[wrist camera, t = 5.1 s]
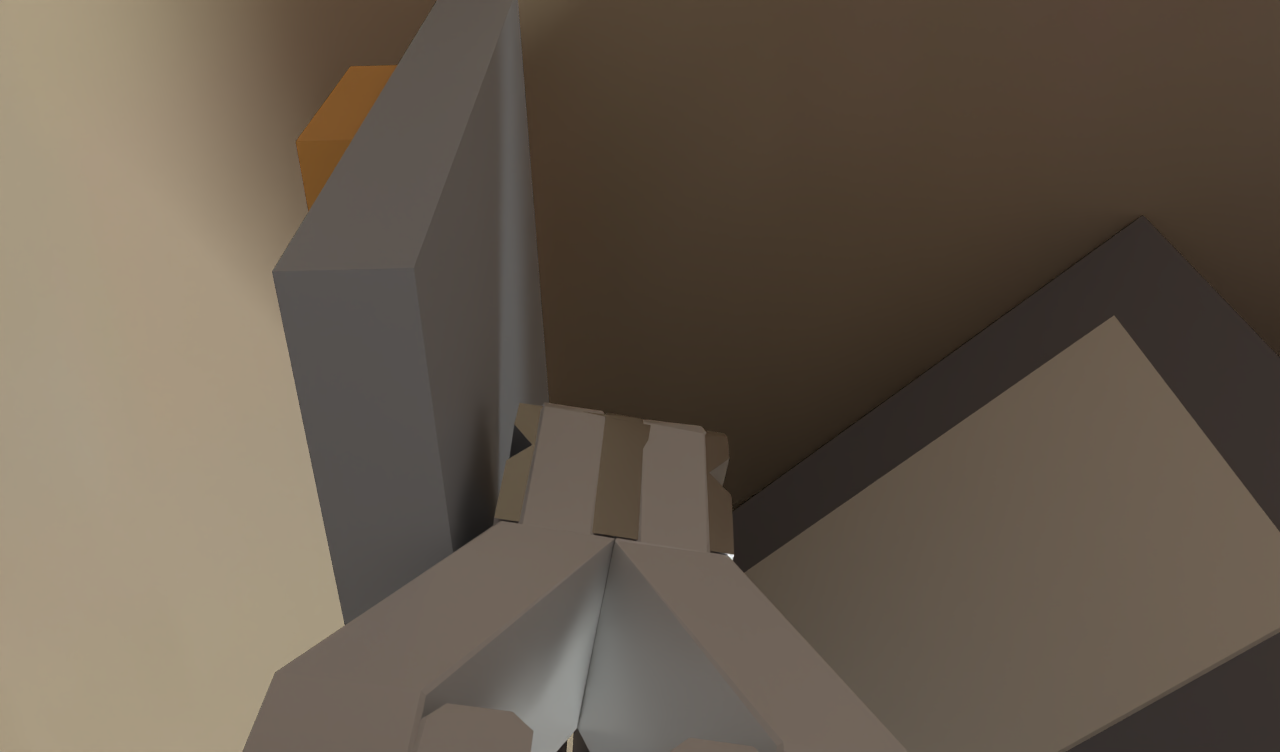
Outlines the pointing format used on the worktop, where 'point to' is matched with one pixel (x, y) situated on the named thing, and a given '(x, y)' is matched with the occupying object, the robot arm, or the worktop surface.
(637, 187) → the worktop surface
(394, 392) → the side door
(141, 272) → the worktop surface
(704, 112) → the worktop surface
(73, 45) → the worktop surface
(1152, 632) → the camera body
